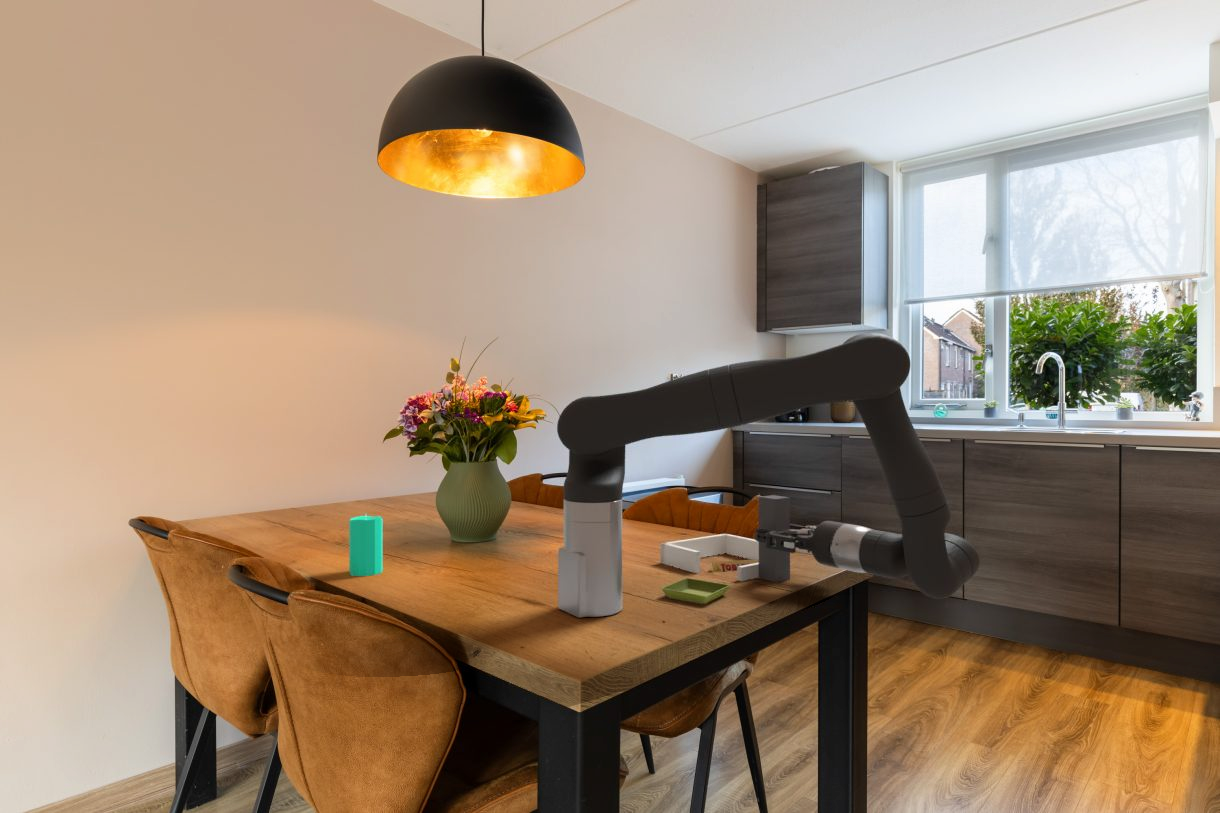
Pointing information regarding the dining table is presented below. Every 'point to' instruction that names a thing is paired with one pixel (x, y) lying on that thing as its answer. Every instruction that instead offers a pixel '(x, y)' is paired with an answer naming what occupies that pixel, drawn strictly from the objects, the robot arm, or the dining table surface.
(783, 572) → the grey upright piece
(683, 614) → the dining table surface
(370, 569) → the candle
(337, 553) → the dining table surface
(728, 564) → the chocolate bar
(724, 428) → the robot arm
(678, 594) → the green square dish
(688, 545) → the white walled enclosure
